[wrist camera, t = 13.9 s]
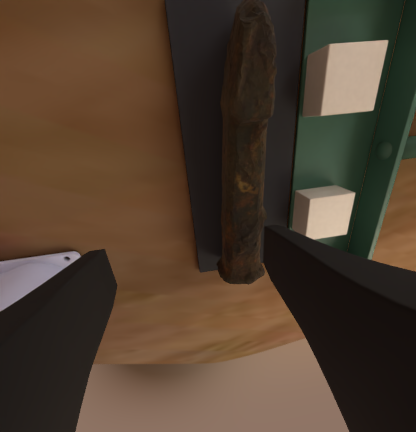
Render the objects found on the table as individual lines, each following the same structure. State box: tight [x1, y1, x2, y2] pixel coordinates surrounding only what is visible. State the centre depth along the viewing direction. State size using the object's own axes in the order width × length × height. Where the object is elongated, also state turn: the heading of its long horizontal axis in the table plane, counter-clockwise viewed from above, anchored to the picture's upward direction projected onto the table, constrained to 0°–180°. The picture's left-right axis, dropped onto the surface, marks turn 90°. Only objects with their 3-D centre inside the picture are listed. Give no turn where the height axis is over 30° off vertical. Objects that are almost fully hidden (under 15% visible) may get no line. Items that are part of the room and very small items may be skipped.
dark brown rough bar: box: [216, 0, 277, 284], centre depth 15 cm, size 19×4×5 cm, turn 0°
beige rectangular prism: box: [302, 40, 388, 117], centre depth 15 cm, size 4×4×2 cm
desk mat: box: [165, 0, 305, 273], centre depth 17 cm, size 9×21×1 cm, turn 5°
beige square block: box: [292, 185, 355, 239], centre depth 19 cm, size 4×4×2 cm
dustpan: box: [288, 0, 416, 260], centre depth 18 cm, size 16×23×3 cm
